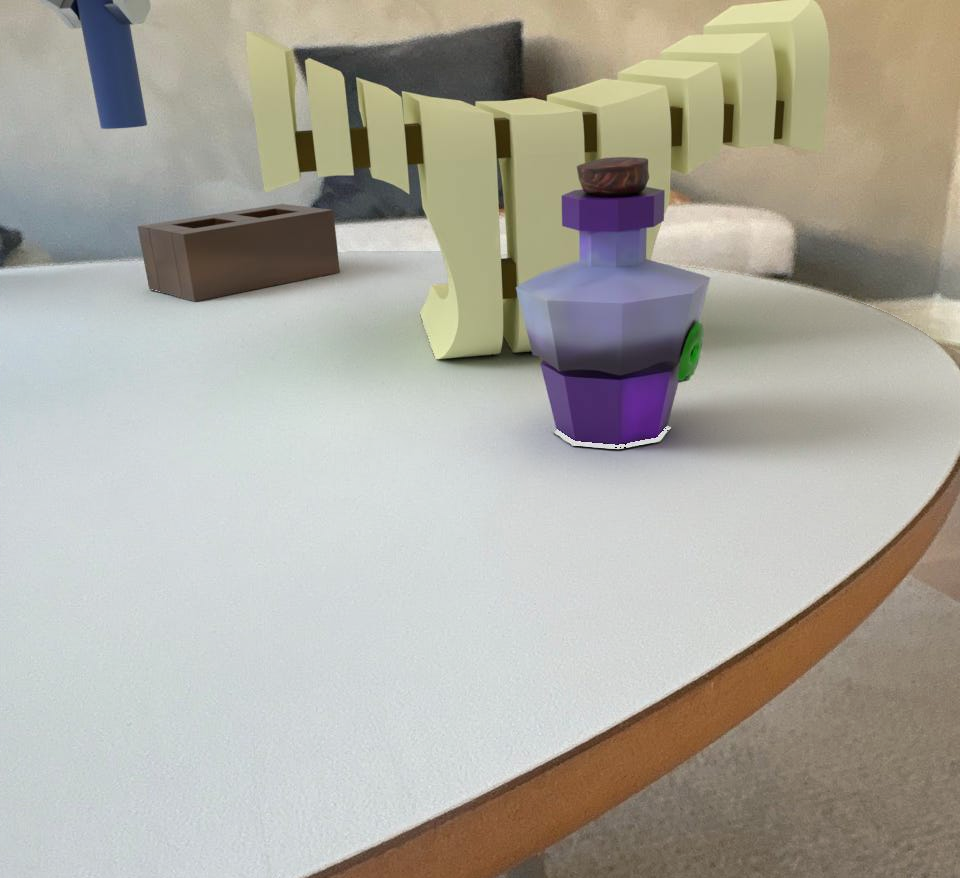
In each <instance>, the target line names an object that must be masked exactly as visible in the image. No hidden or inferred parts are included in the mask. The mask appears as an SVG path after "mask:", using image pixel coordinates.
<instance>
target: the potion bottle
mask: <svg viewBox="0 0 960 878" xmlns="http://www.w3.org/2000/svg"><path fill="white" fill-rule="evenodd" d="M577 172H578V178H579V181H580V184H581V186H582V190H574V191H572V192H569V193H567V194H564V195H562V226H564V227H567V228H571V229H574V230H578V231H579V256H580V261H577V262H574V263H570V264H567V265H564V266H561V267H558V268H554V269H551V270H548V271H545V272H542V273H540V274H538V275H536V276H534V277H533V278H531V279H529V280H527V281H526V282H524V283H522V284H520V285H519V286H517V287H516V291H517V294H518V298H519V302H520V306H521V310H522V314H523V318H524V322H525V326H526V330H527V334H528V338H529V342H530V346H531V350H532V351H531V354H532V357H533V356H536V357H538V358H540V359H541V360H542V361H541V362H540V363H539V365H540V368H541V372H542V373H541V374H542V376H543V381H544V385H545V388H546V392H547V397H548V401H549V404H550V409H551V412H552V416H553V421H554V425H555V430H556V429H558V430H559V431H561V432H562V433H564V434H565V435H567V436H568V437H570V438H571V439H573V440H575V441H581V442H592V443H603V444H615V445H619V444H625V445H626V444H627V443H630V442H635V441H640V440H645V439H651V438H656V437H658V435H659V434H660V433H661V432H662V431H664V430H663V429H664V428H665V427H666V426H667V425H668V424H669V422H670V418H671V413H672V409H673V405H674V402H675V397H676V394H677V390H678V386H679V383H683V382H689V381H690V380H691V377H692V376H694V374H695V372H696V369H697V367H698V365H699V361H700V358H701V351H702V347H703V340H704V326H703V323H701V321H700V320H701V317H702V313H703V308H704V305H705V301H706V298H707V297H706V296H707V292H708V288H709V285H710V281H711V277H710V276H707V275H704V274H700V273H698V272H693V271H691V270H687V269H683V268H680V267H677V266H673V265H670V264H666V263H663V262H658V261H655V260H652V259H651V260H648V259H646V236H647V228H650V227H654V226H656V225H658V224H659V223H661V222H662V223H663V222H664V221H665V215H664V197H665V190H661V189H656V188H650V187H646V185H647V182H648V180H649V172H648V159H646V158H634V157H613V158H603V159H597V160H593V161H590V162H587V163H584V164H581V165H579V166H577ZM662 223H661V224H662ZM665 429H666V428H665ZM667 431H668V430H667ZM615 448H617V447H615ZM620 448H621V447H620ZM624 448H626V447H624Z"/></svg>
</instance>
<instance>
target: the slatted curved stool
mask: <svg viewBox="0 0 960 878" xmlns="http://www.w3.org/2000/svg"><path fill="white" fill-rule="evenodd" d="M702 31H703V32H702V34H689V35H687V36H685V37H683V38H682V39H680V40H678V41H677V42H675V43H673V44H672V45H670V46H668V47H666V48H665V49H663V50H661V51H660V52H659V53H660V54H659V59H648V58H647V59H644V60H641V61H639V62H637V63H636V64H635V63H634V65H631V66H629V67H626V68H624V69H623V70H620V71H618V72H617V79H612V78H605V77H604V78H600V79H597V80H595V81H592V82H589V83H586V84H583V85H580V86H578V87H573V88H570V89H569V88H568V89H566V90H562V91H558V92H554V93H550V94H547V95H546V100H543V99H538V98H537V97H536V98H535V97H526V98H518V99H517V98H516V99H510V100H508V99H507V100H476V101H475V105H473V104H471V103H468V102H465V101H462V100H458V99H449V98H441V97H436V96H435V97H433V96H429V95H423V94H418V93H414V92H409V91H404V90H402V91H401V95H399V94H398V93H396V92H395V91H393V90H392V89H390V88H389V87H388V86H385V85H382V84H380V83H379V84H378V83H376V82H372V81H369V80H366V79H364V78H363V79H362V78H360V77H355V80H356V89H357V100H358V111H359V114H360V117H361V121H362V125H363V126H355V127H350V123H349V122H350V121H349V112H348V111H349V110H348V103H347V102H348V101H347V93H346V84H345V82H346V81H345V77H344V75H343V73H342V71H340V70H338V69H336V68H334V67H332V66H329V65H327V64H324V63H322V62H319V61H318V60H314V59H312V58H310V57H308V58H307V59H305V60H304V64H305V76H306V85H307V95H308V105H309V111H310V113H309V114H310V121H311V123H310V124H311V130H310V129H309V130H298V126H297V113H296V85H297V80H298V79H297V74H296V73H297V72H296V63H295V55H294V50H293V49H292V48H289V47H288V46H285V45H284V44H283V43H282V44H281V43H280V42H278V41H276V40H274V39H273V38H270V37H268V36H267V35H265V34H262V33H261V32H256V31H251V30H246V37H245V38H246V39H245V40H246V41H245V43H246V57H247V67H248V68H247V69H248V79H249V88H250V96H251V104H252V112H253V118H254V119H253V120H254V126H255V133H256V142H257V150H258V156H259V163H260V170H261V171H260V172H261V178H262V185H263V193H264V194H266V193H269V192H272V191H275V190H277V189H279V188H282V187H286V186H289V185H292V184H296V183H299V182H300V181H301V177H302V173H311V172H316V175H317V178H325V177H334V176H336V177H337V176H355V172H354V169H367V168H368V170H369V172H370V175H371V178H372V179H375V180H379V181H382V182H385V183H388V184H390V185H392V186H395V187H397V188H398V189H400V190H402V191H403V192H405V193H406V194H407V195H409V196H410V194H411V193H410V181H409V168H408V166H412V165H417V170H418V178H419V187H420V195H421V205H422V207H421V208H422V210H423V212H424V214H425V216H426V218H427V220H428V222H429V224H430V226H431V229H432V232H433V234H434V236H435V239H436V241H437V245H438V247H439V250H440V253H441V255H442V259H443V262H444V265H445V270H446V274H447V280H448V282H447V283H435V284H434V283H433V284H431V286H430V288H429V292H428V295H427V297H426V300H425V302H424V304H423V306H422V308H421V309H420V311H419V313H420V314H421V317H420V319H421V318H422V320H423V323H422V325H424V326H423V328H424V331H425V330H426V331H425V334H426V333H427V334H426V336H427V335H428V337H427V340H428V339H429V340H428V343H429V342H430V343H429V346H430V348H431V351H432V350H433V352H432V354H433V353H434V355H433V357H434V356H435V357H434V359H435V360H445V359H446V360H447V359H457V358H468V357H479V356H480V357H481V356H492V354H493V355H500V354H501V352H502V347H503V339H504V338H505V339H506V340H505V339H504V340H505V342H506V341H507V342H506V343H508V344H507V345H508V347H509V346H510V347H509V348H511V349H512V350H511V349H510V350H511V352H512V353H526V352H532V350H531V346H530V342H529V338H528V334H527V330H526V326H525V322H524V318H523V314H522V310H521V306H520V302H519V298H518V294H517V291H516V287H517V286H519V285H520V284H522V283H524V282H526V281H527V280H529V279H531V278H533V277H534V276H536V275H538V274H540V273H542V272H545V271H548V270H551V269H554V268H558V267H561V266H564V265H567V264H570V263H574V262H577V261H580V256H579V231H578V230H574V229H571V228H567V227H564V226H562V195H564V194H567V193H569V192H572V191H574V190H582V186H581V184H580V181H579V178H578V172H577V166H579V165H581V164H584V163H587V162H590V161H593V160H597V159H603V158H613V157H634V158H646V159H648V172H649V180H648V182H647V185H646V187H650V188H656V189H661V190H665V197H664V216H665V215H666V212H667V209H668V207H669V205H670V202H671V170H672V171H675V172H677V173H681V174H683V175H686V176H688V175H689V174H691V172H693V171H694V170H695V169H696V168H697V167H699V166H700V165H702V164H703V163H706V162H707V161H708V160H710V159H712V158H714V157H717V156H720V155H722V154H723V145H724V146H727V147H732V148H735V149H745V148H752V147H771V146H772V147H773V146H774V144H775V145H781V146H784V147H788V148H795V149H799V150H805V151H809V152H814V153H818V154H822V155H823V154H824V144H825V143H824V142H825V130H826V120H827V119H826V118H827V108H828V96H829V83H830V69H831V68H830V67H831V48H830V36H829V32H828V25H827V22H826V18H825V15H824V11H823V10H822V8H821V7H820V5H819V4H818V2H817V1H816V0H776V1H774V0H773V1H767V2H756V3H744V4H736V5H731V6H730V7H729V8H727V9H726V10H724V11H723V12H722V13H721V12H720V13H719V15H717V16H716V17H714V18H713V19H711V20H710V21H709V22H707V23H705V24H704V25H703V30H702ZM498 162H499V163H498ZM498 164H499V170H500V176H501V177H500V178H501V186H502V195H503V196H502V197H503V205H504V206H503V207H504V208H503V209H504V221H505V222H504V223H505V237H506V257H505V258H504V257H503V258H502V251H501V230H500V229H501V228H500V208H499V203H500V202H499V183H498V182H499V181H498V180H499V179H498ZM662 223H663V222H661V223H659V224H658V225H656V226H654V227H650V228H647V236H646V259H648V260H651V261H652V256H653V253H654V250H655V245H656V241H657V238H658V235H659V232H660V228H661V226H662ZM420 314H419V315H420ZM422 320H421V321H422ZM503 336H504V337H503Z"/></svg>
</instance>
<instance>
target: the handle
mask: <svg viewBox="0 0 960 878" xmlns="http://www.w3.org/2000/svg"><path fill="white" fill-rule="evenodd" d="M105 2H106V0H77V6H78V11H79V16H80V21H81V27H82V28H81V31H82V36H83V41H84V48H85V53H86V57H87V62H88V68H89V73H90V78H91V84H92V89H93V95H94V99H95V104H96V109H97V115H98V121H99V125H100V129H103V130H114V129H115V130H116V129H117V130H118V129H129V128H140V127H146V126H148V122H147V121H148V120H147V116H146V115H147V114H146V109H145V104H144V98H143V92H142V85H141V80H140V75H139V69H138V63H137V58H136V52H135V46H134V40H133V34H132V28H131V25H122V24H120V23H119V22H118V21H117V20H116V16H114V15H113V14H111V13H110V11H109V10H108V9H107V8H106V6H105Z"/></svg>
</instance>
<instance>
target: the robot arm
mask: <svg viewBox="0 0 960 878" xmlns="http://www.w3.org/2000/svg"><path fill="white" fill-rule="evenodd" d="M35 1H36V2H38V3H39V4H42V5H43V6H45V7H47V8H48V9H49V10H52V11H53V12H54V13H55V14H56V16H57V17H59V19H60V20H62V22H63V23H64V25H66V26H67V28H68V29H70V30H76V29H82V27H81V21H80V16H79V11H78V6H77V0H35ZM105 6H106V8H107V9H108V10H109V11H110V13H111V14H113V15H114V16H116V20H117V21H118V22H119V23H120V24H122V25H130V26H132V25H133V26H134V25H141V24H144V23H145V22H146V19H147V17H148V15H149V13H150V10H151V1H150V0H106V2H105Z"/></svg>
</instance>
